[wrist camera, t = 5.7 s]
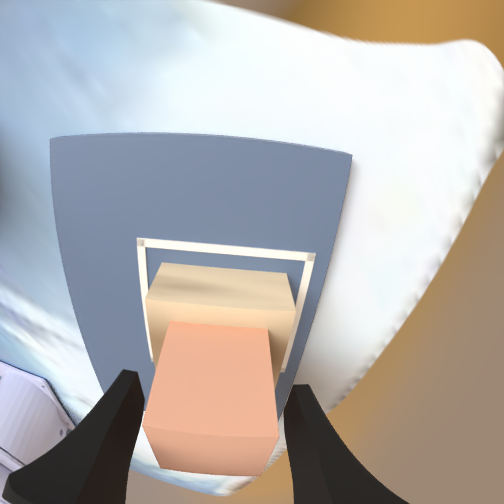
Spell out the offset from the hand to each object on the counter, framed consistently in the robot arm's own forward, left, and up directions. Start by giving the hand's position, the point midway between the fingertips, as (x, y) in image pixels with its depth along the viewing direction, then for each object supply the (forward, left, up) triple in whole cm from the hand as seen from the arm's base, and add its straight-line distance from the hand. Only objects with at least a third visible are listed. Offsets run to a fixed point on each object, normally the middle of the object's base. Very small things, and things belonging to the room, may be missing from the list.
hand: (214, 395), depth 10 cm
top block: (0, 0, -2) cm, 2 cm away
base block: (0, 0, -5) cm, 5 cm away
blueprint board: (-1, +2, -6) cm, 6 cm away
